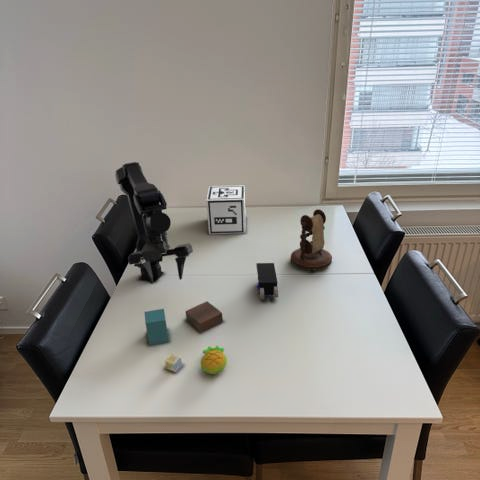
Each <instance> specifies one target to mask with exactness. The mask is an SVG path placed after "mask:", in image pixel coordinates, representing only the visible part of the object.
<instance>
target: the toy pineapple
mask: <svg viewBox="0 0 480 480" xmlns="http://www.w3.org/2000/svg"><path fill="white" fill-rule="evenodd" d="M224 351H225V348H224V347H220V346H219V345H216V346H215V347H212V346H208V347H207V349H203V350H202V353H203V354H204V355H203V356H202V357H201V359H200V367H201V369H202V370H203V371H204V372H206V373H207V374H210V375H216V374H219V373H221V372H222V371H223V370H224V369H225V367H226V366H227V361H228V360H227V356H226V355H225V354H224V353H223V352H224Z"/></svg>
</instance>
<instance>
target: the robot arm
mask: <svg viewBox="0 0 480 480" xmlns="http://www.w3.org/2000/svg"><path fill="white" fill-rule="evenodd" d="M114 176H115V181H116V184H117V185H118V186H119V188H120V191H121V192H122V193H123V194H125V196H126V197H127V200H128V204H129V209H130V212H131V217H132V219H133V224H134V228H135V231H136V235H137V241H136V243H135V251H134V252H132V253H131V254H129V255H128V256H127V260H128V264H129V265H133V266H134V267H137V268H139V269H140V270H139V271H140V276H139V277H138V279H139V280H141V281H145V282H150V284H154V283H156V282H157V281H158V280H159V279H160V278H161V277H162V276H163V275H164V271H162V265H161V264H160V262H163V259H164V257H168V256H169V257H170V256H176V257H175V258H174V260H175V262H176V268H177V274H178V278H179V280H182V279H183V275H184V269H185V263H186V260H187V258H188V257H189V256H190V255H192V253H193V252H194V249H193V246H192V244H191V243H190V242H189V243H181V244H178V245H176V246H175V247H173V248H171V245H170V244H169V242H168V238H167V236H168V231H169V229H170V228H171V224H172V222H171V218H170V217H169V215H168V214H167V213H165V212H163V211H164V210H167V209H168V208H167V206H168V203H167V200H166V199H165V197H164V195H163V193H162V192H161V190H159V188H157V187H156V185H155V184H154V183H150V182H148V180H147V179H146V176H145V174H144V172H143V169H142V166H141V165H140V162H138V161H137V162H136V161H132V162H128V163H124V164H122V166H121V167H119V168H118V169H116V170H115V175H114Z"/></svg>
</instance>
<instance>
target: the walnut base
mask: <svg viewBox="0 0 480 480" xmlns="http://www.w3.org/2000/svg"><path fill="white" fill-rule="evenodd" d="M185 319H186V321H187V322H188V323H189V324H190V325H191V326H192V327H193V328H195V329H196V330H197V331H198V332H199V333H200V334H202V333H204V332H206V331H207V330H210V329H212V328H214V327H216V326H217V325H219V324H221V323H223V322H224V320H223V312H222V311H221V310H219V309H218V308H217V307H215V306H214V305H213V304H211V303H210V302H209V301H208V300H207V301H204V302H202V303H200V304H197V305H196V306H194V307H190V308H189V309H186V310H185Z"/></svg>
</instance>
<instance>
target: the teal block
mask: <svg viewBox="0 0 480 480" xmlns="http://www.w3.org/2000/svg"><path fill="white" fill-rule="evenodd" d="M144 324H145V329H146V330H145V331H146V334H147V340H148V346H155V345H160V344H166V343H169V342H170V341H169V332H168V326H167V319H166V313H165V308H160V309H154V310H153V309H152V310H146V311H144Z"/></svg>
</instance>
